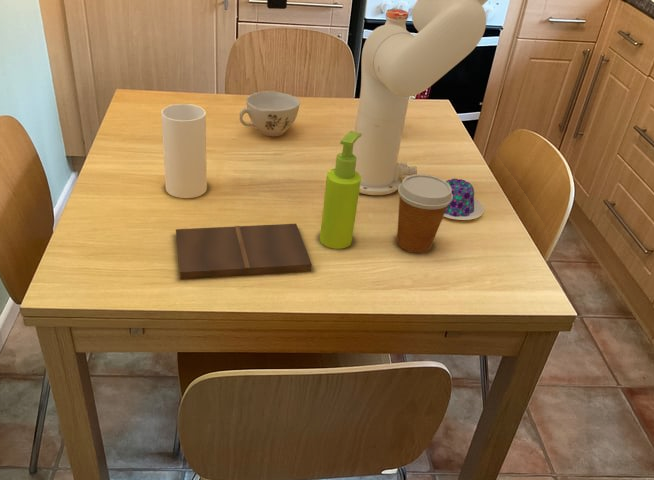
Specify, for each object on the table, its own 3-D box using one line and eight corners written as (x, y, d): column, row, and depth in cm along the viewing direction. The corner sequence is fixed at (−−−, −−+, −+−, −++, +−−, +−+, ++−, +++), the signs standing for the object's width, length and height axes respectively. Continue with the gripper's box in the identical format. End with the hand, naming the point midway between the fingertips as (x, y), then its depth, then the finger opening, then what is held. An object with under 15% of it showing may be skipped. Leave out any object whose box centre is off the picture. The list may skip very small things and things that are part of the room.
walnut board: (295, 230, 117) (296, 223, 116) (311, 271, 107) (311, 263, 106) (176, 236, 113) (175, 228, 112) (180, 279, 103) (180, 271, 102)
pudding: (423, 218, 123) (429, 194, 120) (423, 189, 133) (428, 167, 130) (485, 227, 122) (492, 203, 119) (481, 197, 132) (487, 175, 129)
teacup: (282, 118, 158) (284, 87, 153) (307, 138, 150) (310, 105, 145) (227, 127, 152) (228, 94, 147) (250, 148, 143) (251, 114, 138)
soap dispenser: (357, 234, 117) (373, 133, 105) (344, 252, 112) (360, 148, 100) (328, 225, 119) (341, 125, 107) (314, 243, 114) (326, 140, 102)
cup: (199, 201, 123) (197, 123, 113) (159, 194, 124) (154, 117, 114) (211, 182, 129) (211, 107, 120) (173, 176, 130) (170, 101, 121)
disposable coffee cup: (428, 264, 111) (442, 205, 103) (379, 246, 114) (390, 187, 107) (447, 241, 117) (462, 183, 110) (400, 224, 121) (412, 167, 114)
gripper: (312, -111, 91) (303, 15, 101) (291, -123, 104) (285, -11, 114) (261, -114, 89) (257, 14, 100) (246, -126, 103) (244, -13, 113)
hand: (272, 0), depth 107 cm, fingers open, 9 cm apart
